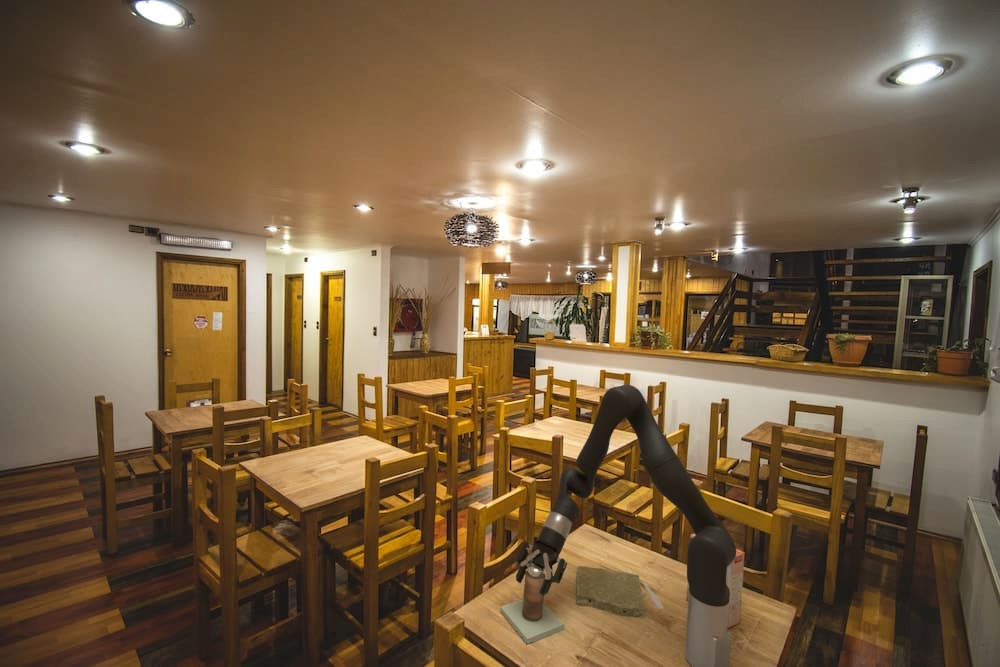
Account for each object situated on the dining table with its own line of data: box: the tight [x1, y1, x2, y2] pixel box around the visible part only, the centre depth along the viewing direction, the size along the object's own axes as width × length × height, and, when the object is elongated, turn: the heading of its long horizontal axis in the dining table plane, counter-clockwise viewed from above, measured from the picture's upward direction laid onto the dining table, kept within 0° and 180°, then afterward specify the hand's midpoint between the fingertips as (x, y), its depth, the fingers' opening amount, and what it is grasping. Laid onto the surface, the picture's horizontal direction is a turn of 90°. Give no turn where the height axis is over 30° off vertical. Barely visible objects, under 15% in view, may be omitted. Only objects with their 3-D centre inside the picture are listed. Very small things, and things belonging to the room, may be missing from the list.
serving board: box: [499, 598, 565, 645], centre depth 125 cm, size 14×12×2 cm
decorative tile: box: [575, 565, 646, 619], centre depth 138 cm, size 19×20×4 cm
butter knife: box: [641, 581, 664, 610], centre depth 145 cm, size 1×27×3 cm
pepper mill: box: [522, 564, 546, 621], centre depth 125 cm, size 6×6×13 cm
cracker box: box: [686, 532, 745, 629], centre depth 131 cm, size 14×6×21 cm, turn 27°
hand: (529, 588), depth 123 cm, fingers open, 7 cm apart
